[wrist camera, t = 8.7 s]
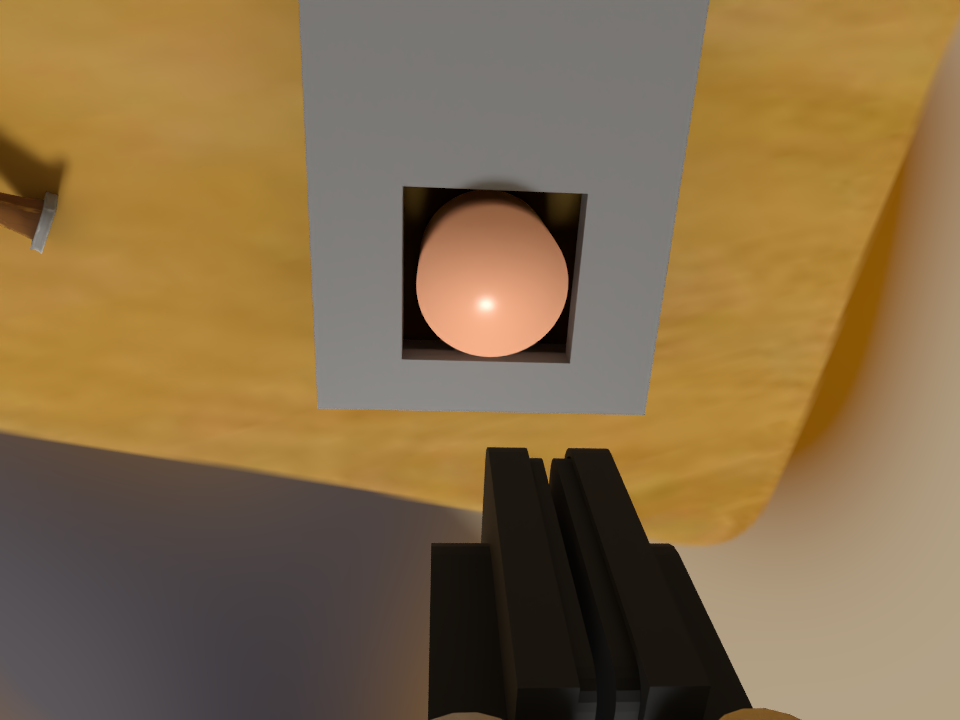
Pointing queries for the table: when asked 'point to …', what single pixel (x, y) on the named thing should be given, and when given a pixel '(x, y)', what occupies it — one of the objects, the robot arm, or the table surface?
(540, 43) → the button housing
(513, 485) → the robot arm
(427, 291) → the terracotta plunger
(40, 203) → the wooden post with brackets
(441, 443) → the table surface
